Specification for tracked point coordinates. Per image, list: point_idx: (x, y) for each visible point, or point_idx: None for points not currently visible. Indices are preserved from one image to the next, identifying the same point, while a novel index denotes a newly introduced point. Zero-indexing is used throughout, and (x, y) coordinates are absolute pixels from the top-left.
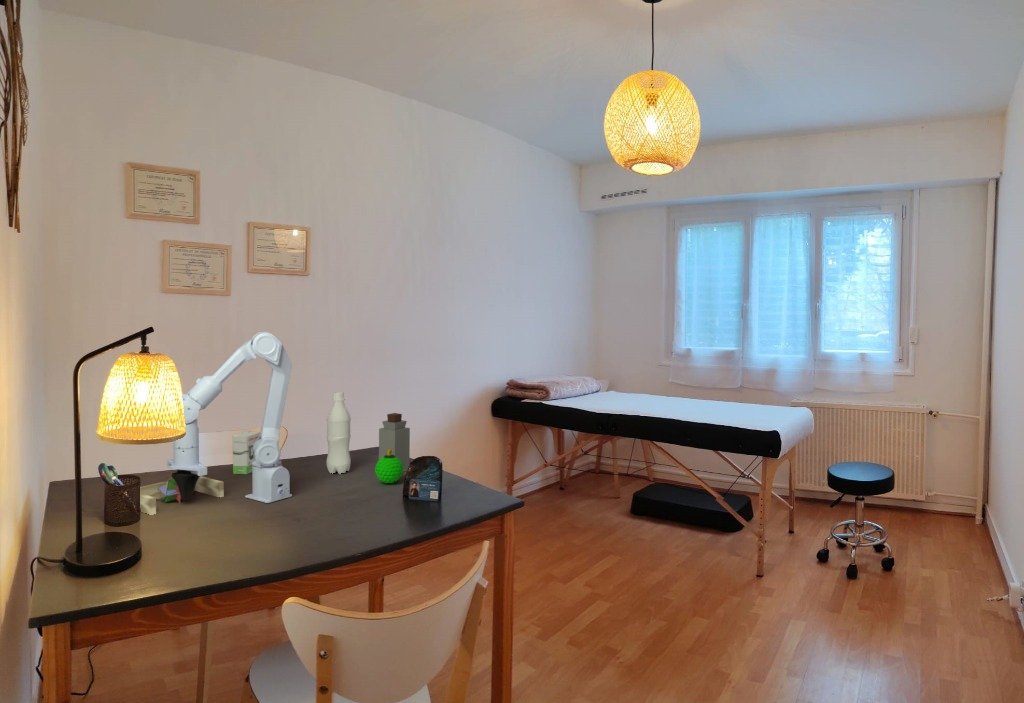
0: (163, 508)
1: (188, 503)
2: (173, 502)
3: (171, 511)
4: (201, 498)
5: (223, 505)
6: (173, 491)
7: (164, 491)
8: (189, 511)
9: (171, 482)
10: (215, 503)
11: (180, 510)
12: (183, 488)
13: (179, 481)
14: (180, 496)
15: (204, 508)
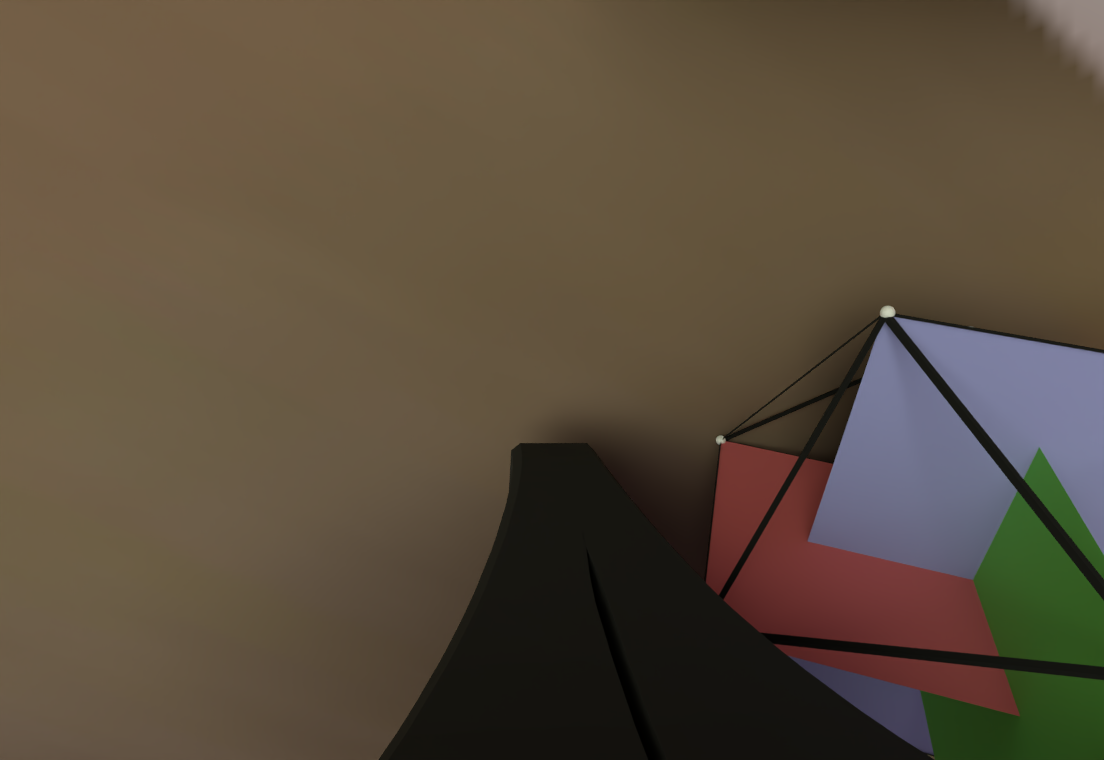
0: (716, 128)
1: None
2: (819, 397)
3: (411, 92)
4: None
5: (84, 676)
6: (923, 520)
7: (1059, 406)
8: (140, 276)
9: (1083, 652)
10: (268, 663)
11: (334, 224)
12: (471, 605)
13: (593, 748)
14: (738, 508)
15: (132, 488)
